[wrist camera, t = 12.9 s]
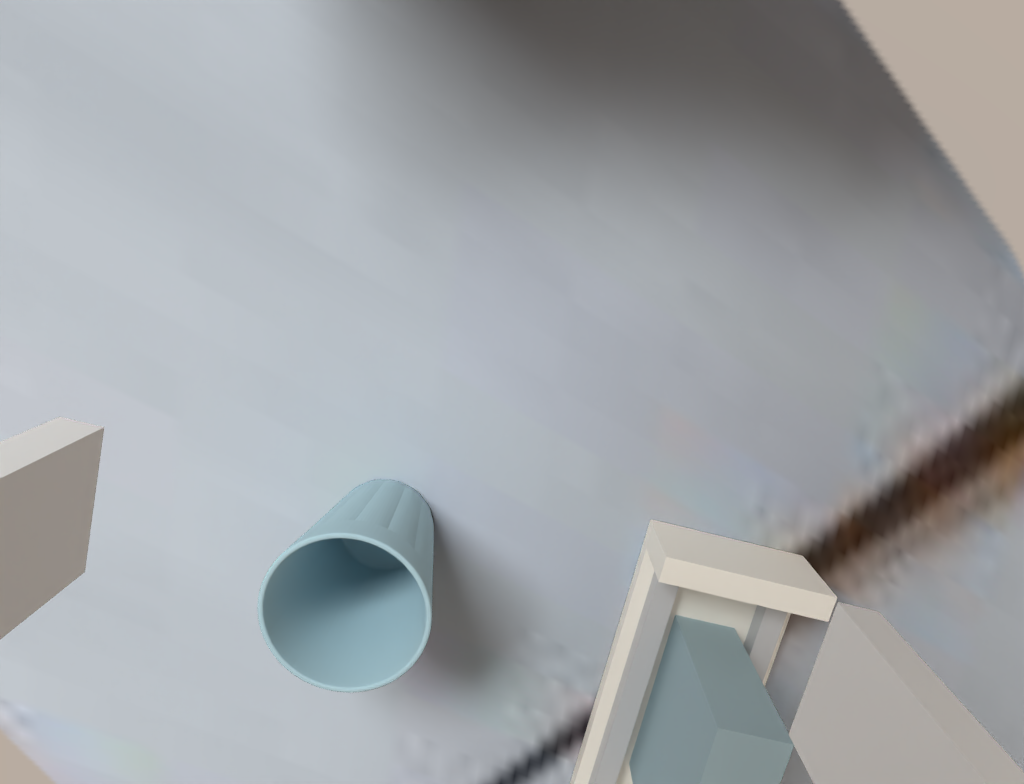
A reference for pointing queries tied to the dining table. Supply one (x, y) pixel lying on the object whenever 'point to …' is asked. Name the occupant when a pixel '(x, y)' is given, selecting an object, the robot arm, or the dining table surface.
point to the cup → (354, 591)
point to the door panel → (709, 714)
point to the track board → (698, 595)
